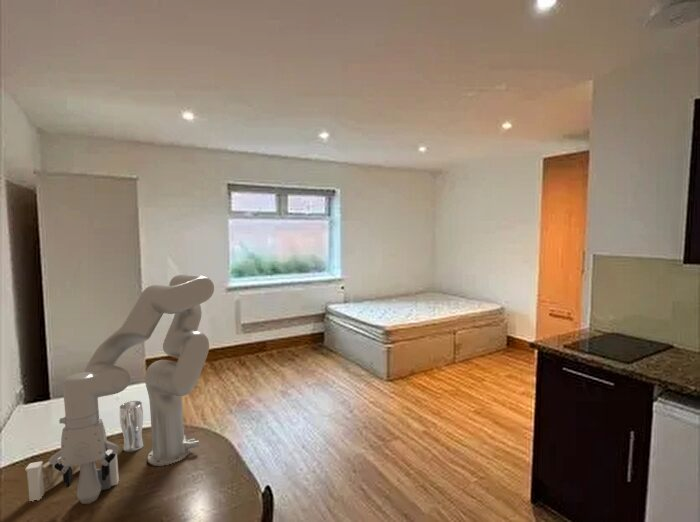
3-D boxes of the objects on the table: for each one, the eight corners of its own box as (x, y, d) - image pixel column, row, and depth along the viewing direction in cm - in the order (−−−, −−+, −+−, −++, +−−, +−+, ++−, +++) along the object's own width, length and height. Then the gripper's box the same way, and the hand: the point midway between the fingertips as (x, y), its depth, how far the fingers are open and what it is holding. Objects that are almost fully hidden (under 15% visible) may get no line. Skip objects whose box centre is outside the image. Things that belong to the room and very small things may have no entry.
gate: (47, 491, 115) (44, 467, 115) (42, 490, 116) (40, 466, 115) (93, 461, 130) (92, 440, 129) (89, 461, 130) (87, 439, 130)
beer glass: (129, 455, 135) (126, 411, 133) (117, 449, 138) (114, 406, 137) (149, 445, 141) (146, 403, 139) (137, 440, 144) (134, 398, 143)
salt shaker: (71, 504, 111) (68, 458, 110) (89, 491, 116) (85, 447, 115) (90, 507, 110) (87, 460, 108) (107, 493, 115) (104, 449, 114)
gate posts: (119, 479, 122) (117, 448, 121) (116, 487, 118) (114, 455, 117) (32, 495, 115) (29, 463, 114) (26, 505, 111) (23, 471, 110)
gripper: (39, 431, 104) (44, 496, 106) (116, 420, 110) (120, 482, 112) (49, 418, 111) (55, 480, 113) (121, 408, 117) (125, 467, 119)
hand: (87, 480), depth 112 cm, fingers open, 8 cm apart
